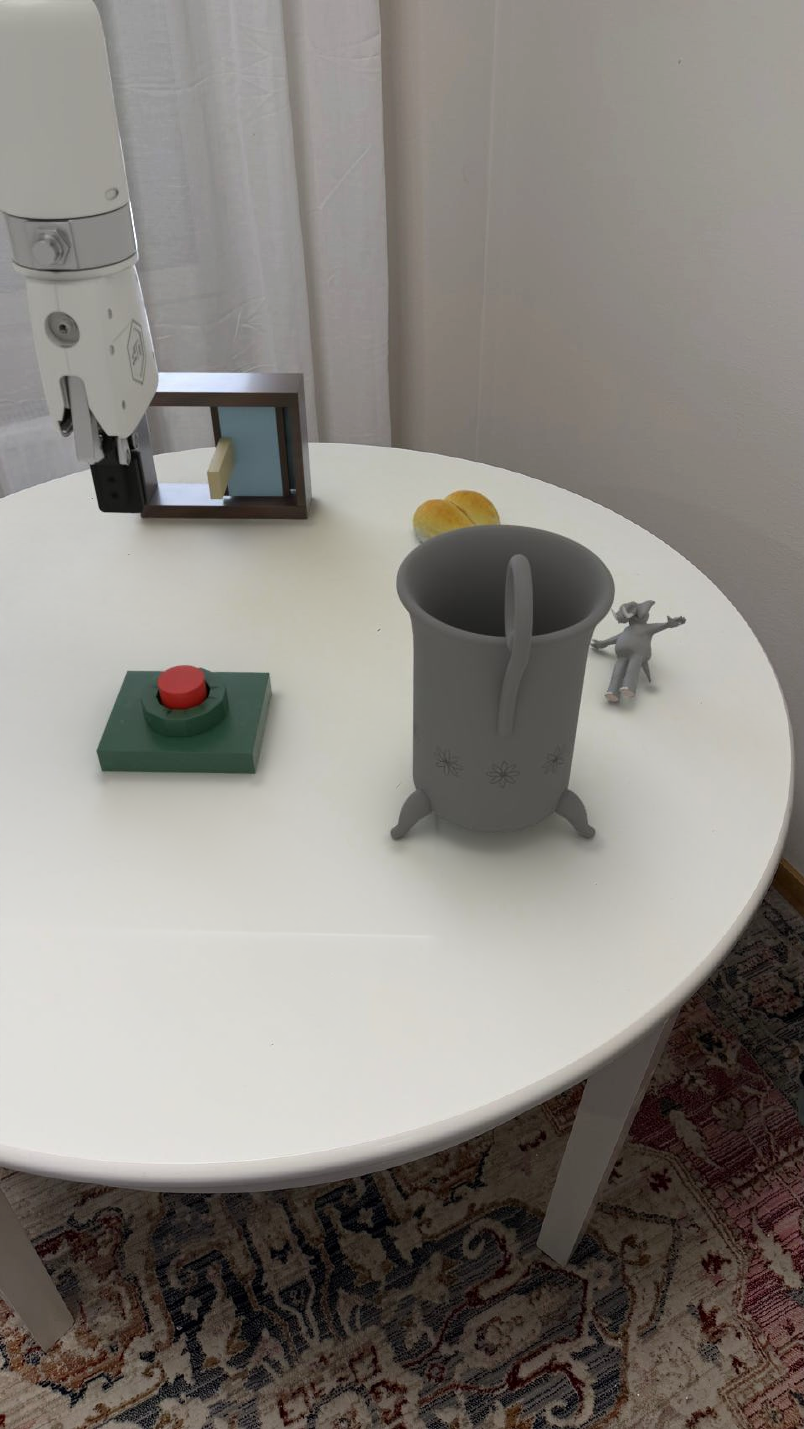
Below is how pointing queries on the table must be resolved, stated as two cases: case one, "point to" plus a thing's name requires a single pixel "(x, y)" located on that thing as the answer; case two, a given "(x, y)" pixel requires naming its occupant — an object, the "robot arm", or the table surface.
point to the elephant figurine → (632, 646)
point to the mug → (499, 673)
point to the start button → (182, 687)
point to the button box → (187, 726)
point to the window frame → (231, 393)
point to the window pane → (249, 452)
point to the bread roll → (453, 514)
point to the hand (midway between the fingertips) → (124, 506)
